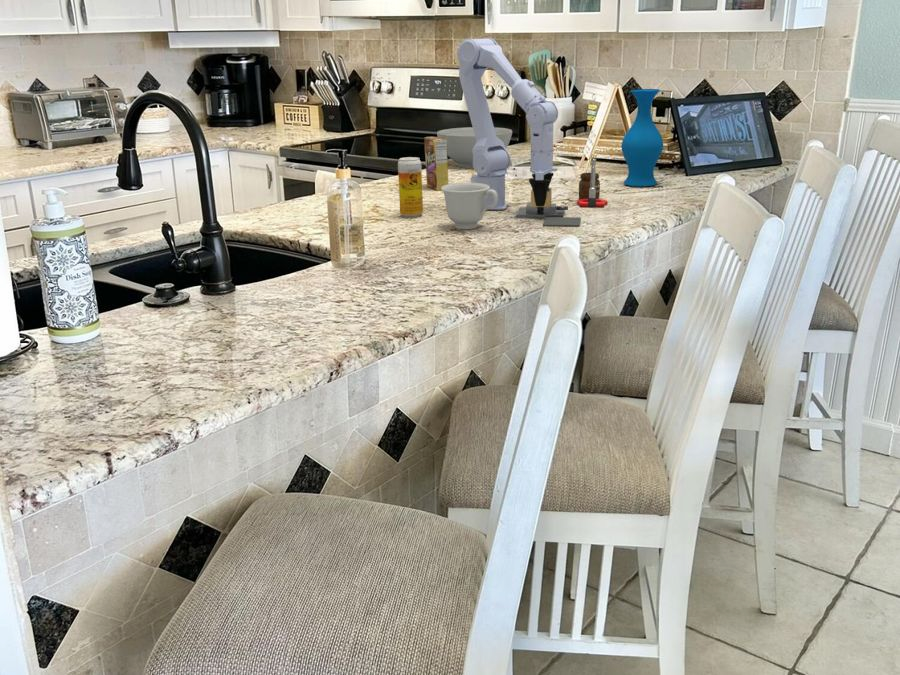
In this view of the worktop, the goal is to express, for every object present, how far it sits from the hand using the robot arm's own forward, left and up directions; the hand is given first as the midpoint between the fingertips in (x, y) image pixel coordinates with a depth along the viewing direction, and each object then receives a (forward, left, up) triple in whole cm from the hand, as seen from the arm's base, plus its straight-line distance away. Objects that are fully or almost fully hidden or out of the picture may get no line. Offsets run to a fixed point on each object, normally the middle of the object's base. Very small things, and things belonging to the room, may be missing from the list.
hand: (541, 203), depth 220 cm
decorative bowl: (-30, +83, -3) cm, 88 cm away
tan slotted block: (0, 0, 0) cm, 0 cm away
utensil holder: (+12, +22, -3) cm, 25 cm away
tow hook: (+13, +14, -3) cm, 19 cm away
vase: (+27, +45, -3) cm, 53 cm away
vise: (0, 0, -3) cm, 3 cm away
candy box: (-35, +37, -3) cm, 51 cm away
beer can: (-34, -4, -3) cm, 34 cm away
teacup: (-16, -17, -3) cm, 24 cm away
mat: (+6, -10, -3) cm, 12 cm away
